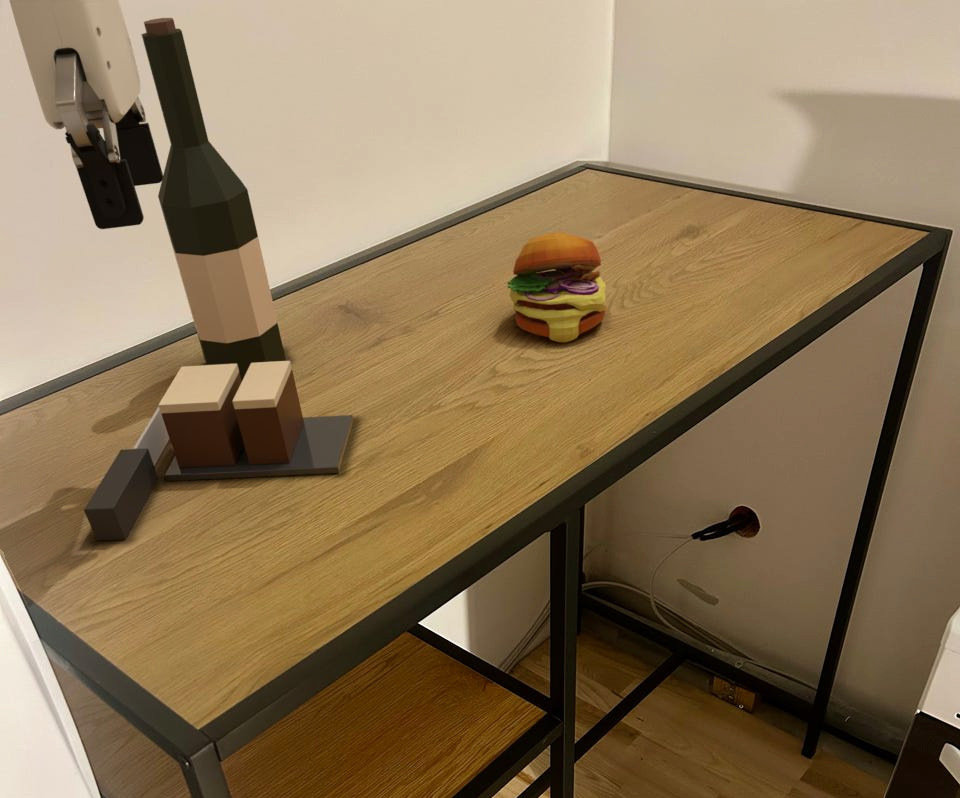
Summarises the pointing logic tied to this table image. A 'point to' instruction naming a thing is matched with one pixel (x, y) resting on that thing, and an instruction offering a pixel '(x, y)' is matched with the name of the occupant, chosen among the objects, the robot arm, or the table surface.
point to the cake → (203, 416)
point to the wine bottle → (209, 220)
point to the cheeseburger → (558, 287)
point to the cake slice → (269, 412)
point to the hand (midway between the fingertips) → (132, 203)
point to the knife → (127, 484)
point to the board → (311, 455)
